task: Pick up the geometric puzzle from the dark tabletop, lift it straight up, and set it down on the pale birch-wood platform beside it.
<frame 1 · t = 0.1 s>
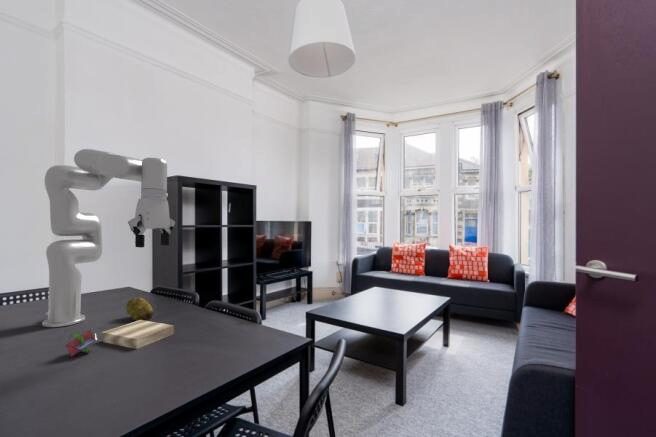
hand: (152, 246, 104), 31 cm above the table, tool pointing down, fingers open, 9 cm apart
birch platform: (138, 337, 105), on the table
potato: (139, 319, 124), on the table
geometric puzzle: (80, 354, 91), on the table
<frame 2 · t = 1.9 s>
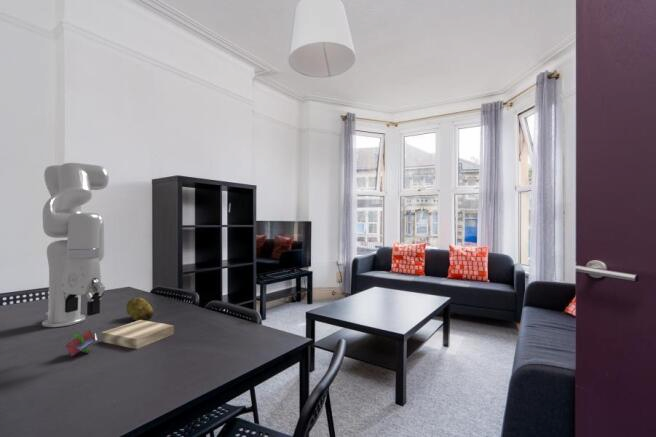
hand: (82, 312, 91), 12 cm above the table, tool pointing down, fingers open, 9 cm apart
nothing on the table moved.
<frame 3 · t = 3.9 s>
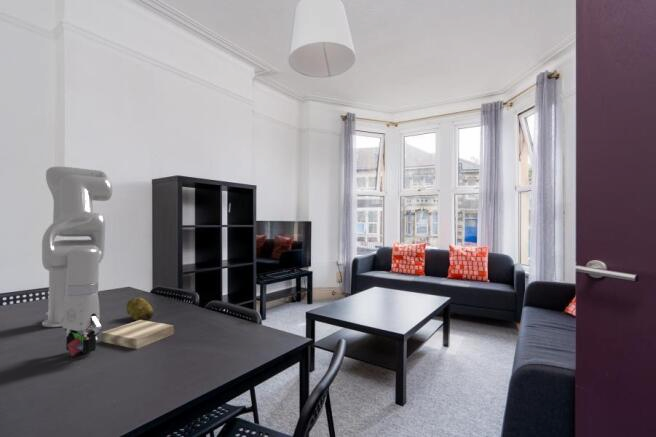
hand: (80, 349, 92), 1 cm above the table, tool pointing down, fingers closed on geometric puzzle, 6 cm apart
geometric puzzle: (81, 354, 92), on the table, touching gripper
everything else where it was.
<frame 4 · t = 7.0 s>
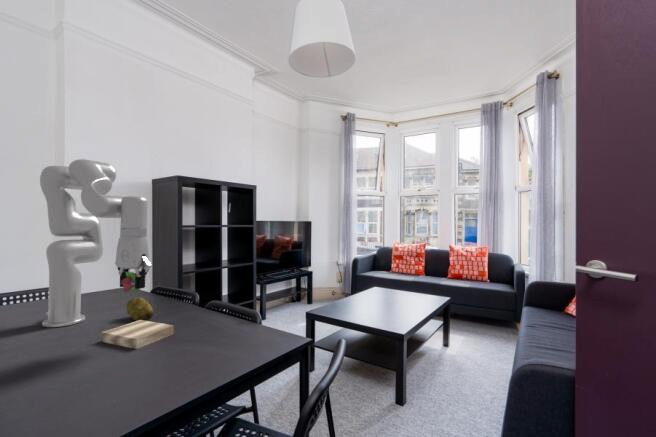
hand: (132, 286, 103), 18 cm above the table, tool pointing down, fingers closed on geometric puzzle, 6 cm apart
geometric puzzle: (132, 291, 103), point 16 cm above the table, touching gripper
everything else where it was.
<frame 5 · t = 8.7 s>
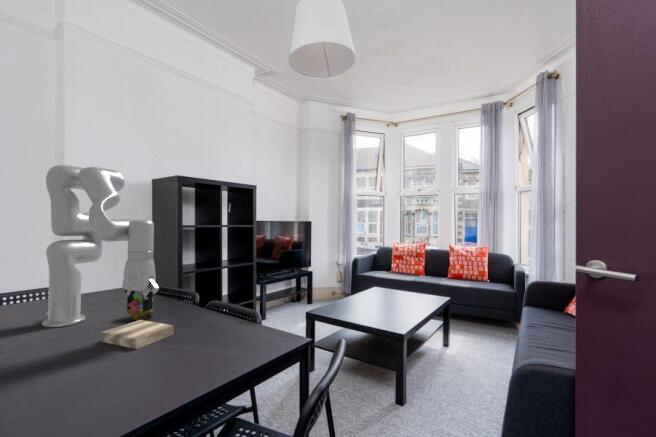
hand: (139, 308, 105), 10 cm above the table, tool pointing down, fingers closed on geometric puzzle, 6 cm apart
geometric puzzle: (139, 313, 105), point 8 cm above the table, touching gripper
everything else where it was.
when the fingers open (5 cm above the table, at t = 10.4 s): geometric puzzle drops 1 cm, resting on birch platform.
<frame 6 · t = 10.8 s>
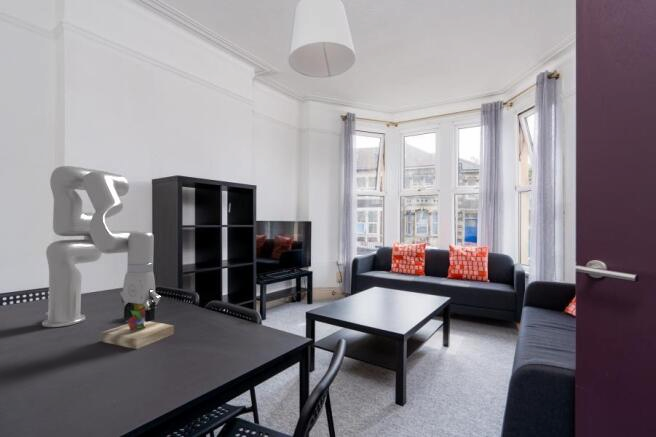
hand: (139, 318, 105), 6 cm above the table, tool pointing down, fingers open, 9 cm apart
geometric puzzle: (137, 329, 105), point 3 cm above the table, touching birch platform
everything else where it was.
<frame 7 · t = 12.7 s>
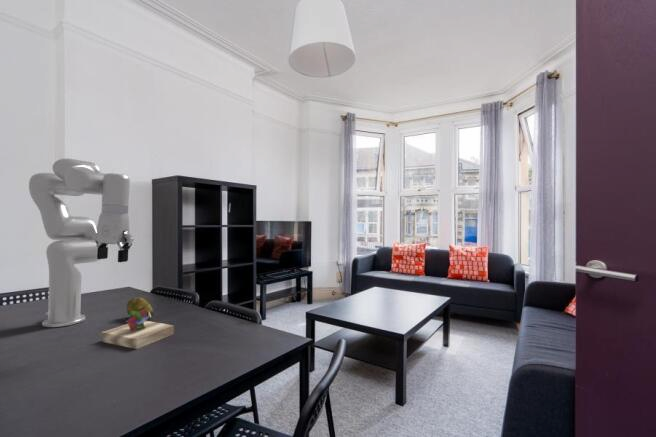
hand: (112, 260, 106), 26 cm above the table, tool pointing down, fingers open, 9 cm apart
nothing on the table moved.
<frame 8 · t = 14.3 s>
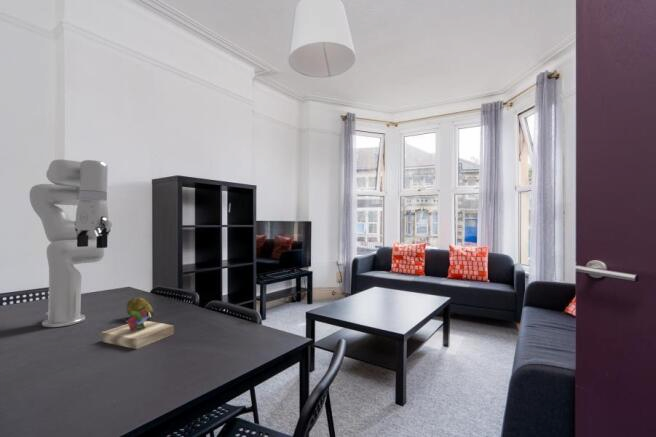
hand: (92, 247, 105), 30 cm above the table, tool pointing down, fingers open, 9 cm apart
nothing on the table moved.
at the end: geometric puzzle inside the target area on the birch platform (0.4 cm from its centre), point 2.8 cm above the birch platform's base; geometric puzzle tilted 0°; the gripper is holding nothing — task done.
